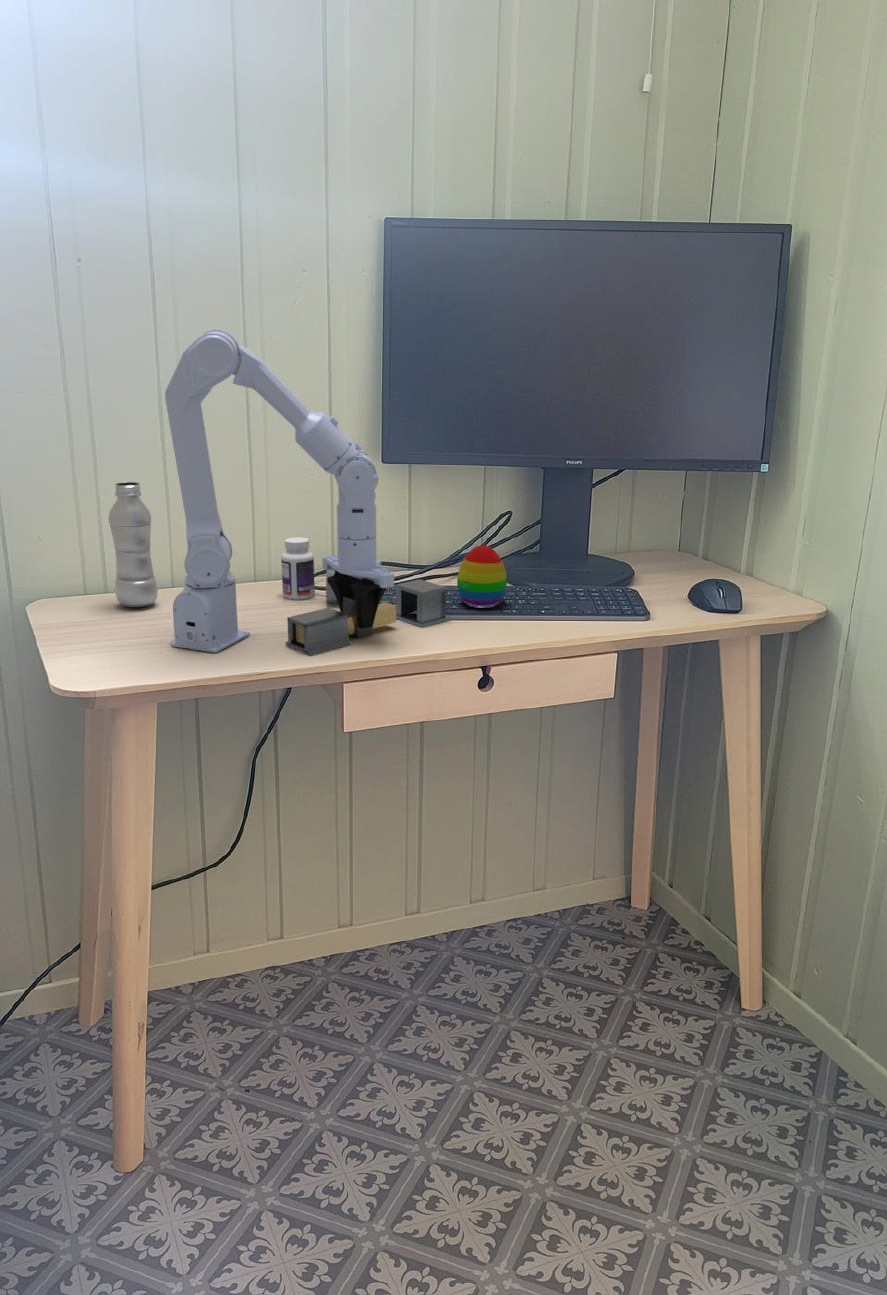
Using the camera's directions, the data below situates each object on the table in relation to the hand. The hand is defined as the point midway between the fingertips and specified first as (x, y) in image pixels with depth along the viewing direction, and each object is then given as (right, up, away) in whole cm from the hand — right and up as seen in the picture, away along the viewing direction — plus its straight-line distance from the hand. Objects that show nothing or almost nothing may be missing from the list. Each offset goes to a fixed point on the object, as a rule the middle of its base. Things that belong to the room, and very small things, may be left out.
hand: (358, 624), depth 164 cm
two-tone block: (-1, -2, -1) cm, 2 cm away
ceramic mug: (-3, +4, +19) cm, 20 cm away
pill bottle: (-12, +5, +21) cm, 24 cm away
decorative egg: (+19, +4, +17) cm, 26 cm away
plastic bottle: (-37, +3, +14) cm, 40 cm away
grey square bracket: (+9, +1, +9) cm, 13 cm away
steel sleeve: (-5, -3, -4) cm, 8 cm away
